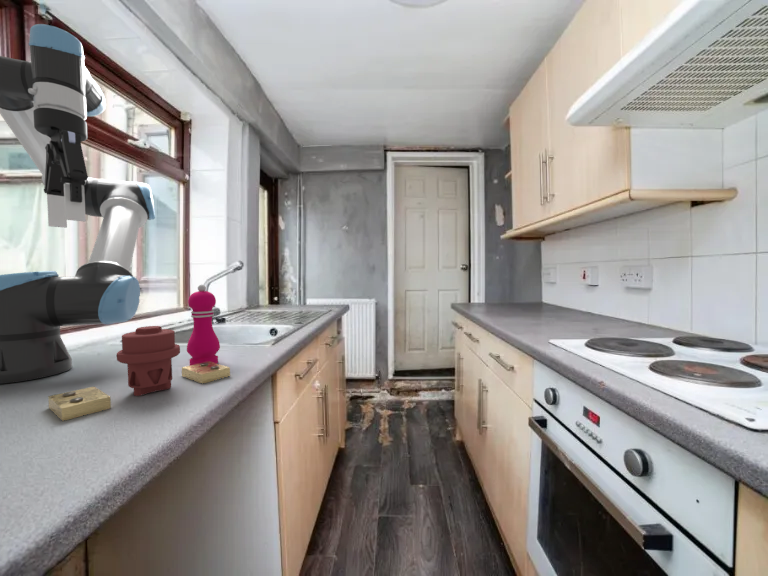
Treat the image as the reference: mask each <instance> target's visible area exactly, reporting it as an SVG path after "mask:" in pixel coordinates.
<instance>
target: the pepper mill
mask: <svg viewBox="0 0 768 576" xmlns="http://www.w3.org/2000/svg"><path fill="white" fill-rule="evenodd" d="M197 290H198V291H195V292H192V293H191V294H190V295H189V297H188V300H187V303H188V306H189V307H190V309H191V310H192V311H190V313H191V316H190V317H191V318H192V319H193V320H192V321H193V328H192V332H191V335H190V337H189V339H188V341H187V345H186V352H187V354H188V355H190V357H191V358H190V359H189V360H188V361H189V366H190V365H195V364H199V363H204V362H213V363H216V364H217V363H218V364H219V357H218V355H217V353H219V351H220V348H221V344H220V341H219V338H218V335H216V332H215V331H214V328H213V322H212V321H213V317H214V316H215V313H214V312H215V310H213V308H214V307H215V306H216V304H217V300H216V296H215V295H214V293H212V292H211V291H207V287H206V286H205V285H204V284H199V285H198V286H197Z"/></svg>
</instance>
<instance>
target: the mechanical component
mask: <svg viewBox="0 0 768 576" xmlns="http://www.w3.org/2000/svg"><path fill="white" fill-rule="evenodd" d="M175 339H176V338H175V330H173V329H169V328H168V329H167V328H166V329H165V328H162V326H160V325H149V326H148V325H145V326H140V327H136V329H135V330H134V331H131V332H127V333H124V334H122V335H121V350H118V351H117V352H116V361H117V362H119V363H120V364H126V365H127V383H128V384H127V386H128V387H129V388H130V389H133V396H134V397H141V396H144V395H146V394H150V393H151V394H152V393H154V392H155V393H156V392H159V391H165V390H170V389H171V388H172V380H173V364H172V362H173V361H172V358H175V357H177V356H178V355H179V354H180V353H181V346H180V345H179V344H177V343H176V340H175Z"/></svg>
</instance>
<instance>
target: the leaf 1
mask: <svg viewBox="0 0 768 576" xmlns="http://www.w3.org/2000/svg"><path fill="white" fill-rule="evenodd" d="M47 399H48V409H49V410H51V411H53V412H54V413H53V414H54V415H55V416H56V415H57V416H56V417H57V418H58V419H59V418H60V419H61V420H62V421H61V420H60V419H59V420H60V421H61V422H65V421H68V420H69V421H70V420H72V419H76V418H80V417H83V415H84V416H88V415H91V414H94V413H98V412H103V411H106V410H109V409H111V408H112V401H111V396H110V395H109V394H107V393H105V392H103V391H102V390H101V389H99V388H97V387H95V386H89V387H85V388H81V389H76V390H71V391H68V392H67V391H66V392H62V393H58V394H53V395H48V398H47ZM102 410H103V411H102ZM87 414H88V415H87ZM64 420H65V421H64Z"/></svg>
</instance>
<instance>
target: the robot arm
mask: <svg viewBox="0 0 768 576" xmlns="http://www.w3.org/2000/svg"><path fill="white" fill-rule="evenodd" d="M28 41H29V42H28V46H29V54H30V55H29V56H30V61H29V60H21V59H15V58H11V57H8V56H4V55H3V56H2V55H0V116H1V117H2V119H3V120H4V122H5V123H6V125H7V126H8V127H9V129H10V130H11V131H12V133H13V135H14V136H15V137H16V139H17V140H18V142H19V143H20V145H21V146H22V148H23V149H24V151H25V152H26V153H27V155H28V156H29V157H30V159H31V161H32V162H33V164H34V165H35V166H36V167H37V169H38V170H39V172H40V173H41V183H42V184H43V185H44V188H43V192H44V194H46V202H47V205H46V206H47V220H48V222H47V224H48V225H47V226H48V227H53V228H68V221H75V222H87V219H86V216H90V217H96V218H97V217H99V218H102V219H103V220H102V222H101V224H100V227H99V231H98V233H97V237H96V240H95V241H94V242H95V243H94V245H93V248H92V251H91V254H90V258H89V260H88V262H87V263H84V264H82V265H80V266H79V267H78V268H77V270H76V272H75V275H74V276H59V275H60V274H58V272H57V270H39V271H25V272H16V273H6V274H0V384H3V385H4V384H9V383H10V384H12V383H18V382H25V381H30V380H36V379H37V380H38V379H41V378H46V377H50V376H54V375H57V374H62V373H64V372H66V371H69V370H71V369H73V359H72V356H71V355H70V353H69V351H68V349H67V347H66V345H65V343H64V342H63V340H62V337H61V327H71V326H72V327H73V326H87V325H113V324H119V323H125V322H126V323H127V322H128V321H130V320H132V319H133V318H134V317H135V315H136V313H137V311H138V307H139V305H140V296H141V287H140V282H139V280H138V279H137V277H135V276H134V275H133V273H132V272H131V271H130V269H131V264H132V261H133V255H134V251H135V248H136V242H137V239H138V235H139V229H140V228H142V227H143V226H144V225H145V224H147V221H151V220H154V219H156V209H155V202H154V197H153V193H152V188H151V186H150V185H149V184H148V183H145V182H140V181H126V180H119V179H105V178H94V177H89V176H88V172H87V171H88V170H87V167H86V163H85V157H84V153H83V152H84V151H83V147H82V142H85V141H86V140H88V124H87V121H86V120H87V118H88V117H96V116H99V115H101V114H103V112H104V111H106V107H107V102H106V98H105V94H104V93H103V91H102V88H101V87H100V86H99V85H98V83H97V82H96V80H94V78H93V77H92V76H91V74H90V71H89V70H88V68H87V67H86V66H85V59H86V57H85V56H86V55H84V47H83V44H82V42H81V41H80V40H79V39H78V37H76V36H75V35H73V34H71V33H70V32H68V31H66V30H65V29H62V28H59V27H57V26H54V25H51V24H50V25H49V24H44V23H38V24H37V23H36V24H34V25H32V26H31V27H30V29H29V40H28Z"/></svg>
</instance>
